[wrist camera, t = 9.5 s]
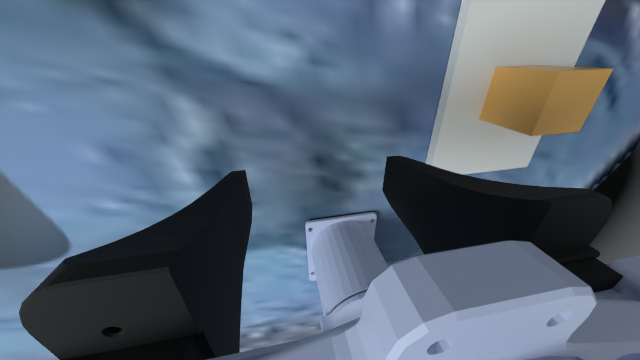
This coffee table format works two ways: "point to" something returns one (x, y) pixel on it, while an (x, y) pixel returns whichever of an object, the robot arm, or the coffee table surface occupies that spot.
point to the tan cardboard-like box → (543, 97)
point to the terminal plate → (478, 68)
